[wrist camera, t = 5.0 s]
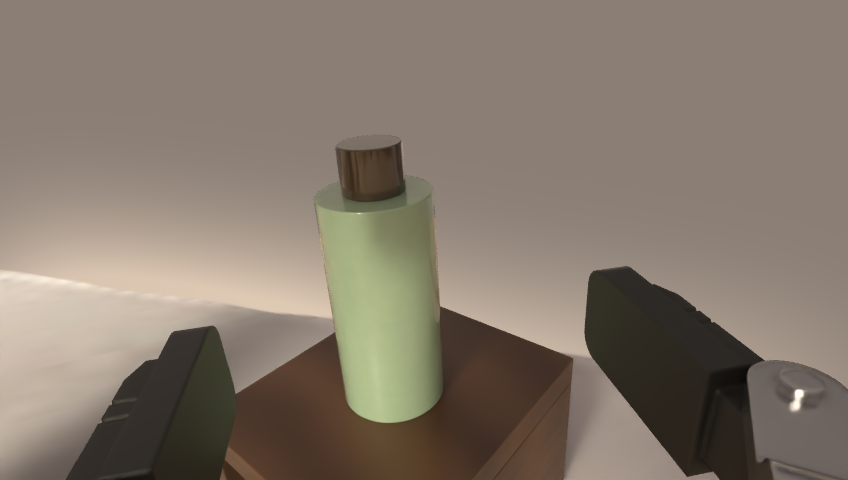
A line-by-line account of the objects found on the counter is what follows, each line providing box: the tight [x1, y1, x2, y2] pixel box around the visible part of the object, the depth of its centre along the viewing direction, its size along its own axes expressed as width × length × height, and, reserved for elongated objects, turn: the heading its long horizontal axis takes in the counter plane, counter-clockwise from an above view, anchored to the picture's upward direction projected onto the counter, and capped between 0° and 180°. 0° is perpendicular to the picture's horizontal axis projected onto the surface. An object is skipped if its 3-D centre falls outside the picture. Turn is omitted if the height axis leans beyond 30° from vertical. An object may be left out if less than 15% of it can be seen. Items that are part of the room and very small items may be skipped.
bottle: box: [314, 135, 444, 423], centre depth 21 cm, size 5×5×12 cm
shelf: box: [220, 307, 573, 480], centre depth 26 cm, size 14×12×9 cm
